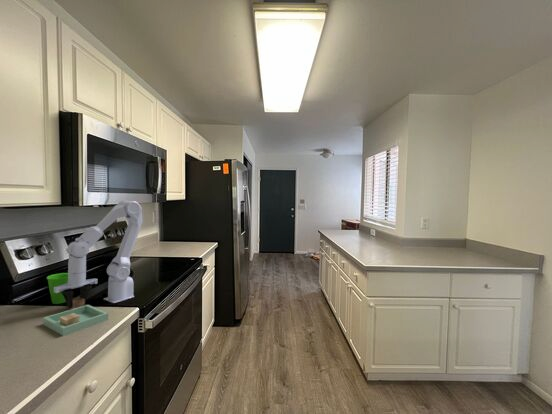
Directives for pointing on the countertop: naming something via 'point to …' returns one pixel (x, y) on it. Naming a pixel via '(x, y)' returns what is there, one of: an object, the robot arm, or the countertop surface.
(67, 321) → the beech block in tray
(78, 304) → the walnut block
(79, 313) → the tray
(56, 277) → the cup
